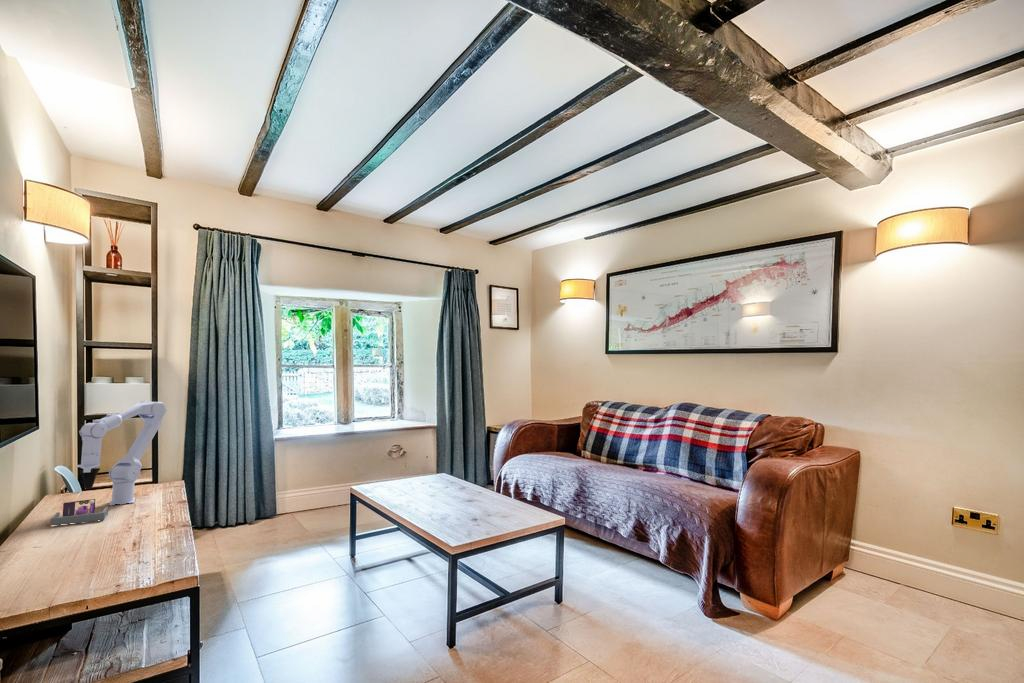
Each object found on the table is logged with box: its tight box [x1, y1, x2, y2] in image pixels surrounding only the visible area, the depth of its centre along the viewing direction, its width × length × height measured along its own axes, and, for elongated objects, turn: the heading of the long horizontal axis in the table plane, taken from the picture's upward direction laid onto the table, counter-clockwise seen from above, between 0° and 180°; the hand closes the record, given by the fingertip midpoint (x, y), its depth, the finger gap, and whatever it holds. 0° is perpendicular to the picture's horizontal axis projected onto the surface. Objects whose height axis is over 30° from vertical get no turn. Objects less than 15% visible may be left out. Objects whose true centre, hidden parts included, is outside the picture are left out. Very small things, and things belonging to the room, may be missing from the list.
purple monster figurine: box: [61, 498, 96, 517], centre depth 180 cm, size 7×5×9 cm
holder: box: [49, 506, 109, 527], centre depth 176 cm, size 9×15×3 cm, turn 124°
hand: (88, 487), depth 187 cm, fingers closed
